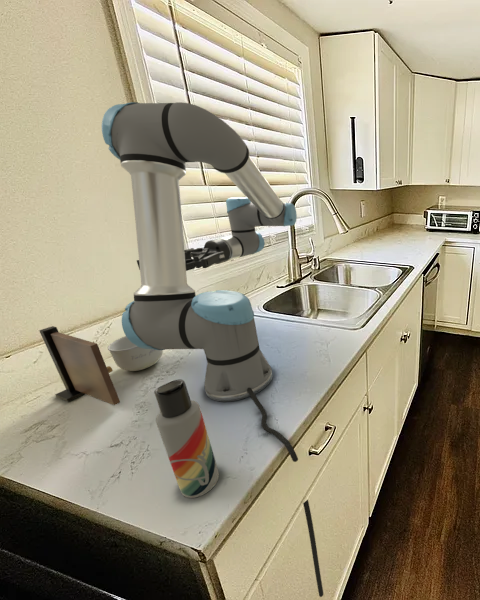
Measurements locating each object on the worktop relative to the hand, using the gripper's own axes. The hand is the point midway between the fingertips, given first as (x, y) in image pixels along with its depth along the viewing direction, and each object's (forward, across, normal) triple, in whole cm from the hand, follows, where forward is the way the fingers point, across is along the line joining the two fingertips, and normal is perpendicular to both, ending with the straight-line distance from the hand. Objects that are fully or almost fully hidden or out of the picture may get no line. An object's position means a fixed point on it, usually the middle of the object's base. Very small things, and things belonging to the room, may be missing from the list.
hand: (153, 267), depth 86 cm
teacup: (+7, +3, -22) cm, 23 cm away
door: (+21, -3, -25) cm, 33 cm away
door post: (+22, +5, -26) cm, 34 cm away
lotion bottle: (+29, -46, -26) cm, 60 cm away
